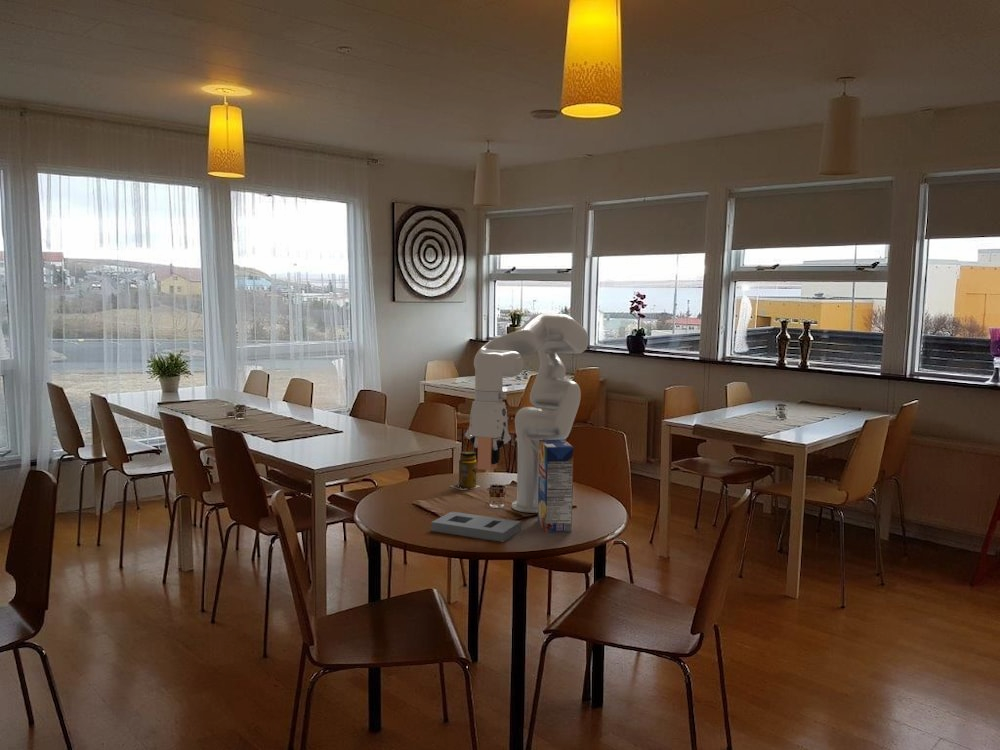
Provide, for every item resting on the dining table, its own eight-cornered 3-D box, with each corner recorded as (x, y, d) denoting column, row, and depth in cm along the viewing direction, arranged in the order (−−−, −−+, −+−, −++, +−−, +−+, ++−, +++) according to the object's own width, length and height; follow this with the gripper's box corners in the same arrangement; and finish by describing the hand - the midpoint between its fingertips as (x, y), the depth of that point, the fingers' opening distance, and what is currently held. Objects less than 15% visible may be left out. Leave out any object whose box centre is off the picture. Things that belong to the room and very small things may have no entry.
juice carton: (537, 520, 224) (539, 439, 221) (562, 519, 225) (564, 439, 222) (545, 532, 212) (547, 447, 210) (571, 532, 213) (573, 447, 211)
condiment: (481, 486, 264) (481, 452, 263) (463, 490, 258) (463, 455, 257) (467, 483, 269) (467, 449, 268) (449, 487, 263) (449, 452, 262)
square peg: (484, 466, 214) (484, 434, 213) (496, 467, 212) (497, 435, 211) (477, 468, 210) (477, 436, 210) (490, 470, 208) (490, 437, 208)
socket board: (451, 519, 223) (451, 511, 223) (520, 530, 214) (520, 521, 214) (431, 530, 212) (431, 522, 212) (503, 541, 203) (503, 532, 203)
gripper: (521, 397, 209) (520, 463, 211) (468, 393, 217) (467, 457, 218) (510, 400, 202) (508, 468, 204) (455, 396, 210) (454, 461, 211)
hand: (487, 461), depth 211 cm, fingers closed on square peg, 4 cm apart
